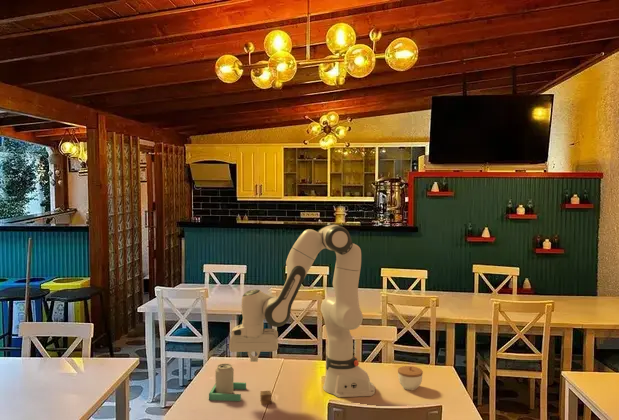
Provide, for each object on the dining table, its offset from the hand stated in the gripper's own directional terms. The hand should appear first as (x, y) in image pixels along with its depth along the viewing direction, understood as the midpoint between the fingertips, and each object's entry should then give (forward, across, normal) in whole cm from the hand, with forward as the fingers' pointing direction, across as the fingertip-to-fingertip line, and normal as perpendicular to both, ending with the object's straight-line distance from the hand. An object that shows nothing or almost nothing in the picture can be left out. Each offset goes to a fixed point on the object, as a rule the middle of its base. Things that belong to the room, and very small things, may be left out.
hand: (254, 361), depth 211 cm
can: (+14, +13, 0) cm, 19 cm away
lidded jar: (+18, -66, -13) cm, 70 cm away
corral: (+14, +12, +1) cm, 18 cm away
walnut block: (+15, -5, +7) cm, 17 cm away
